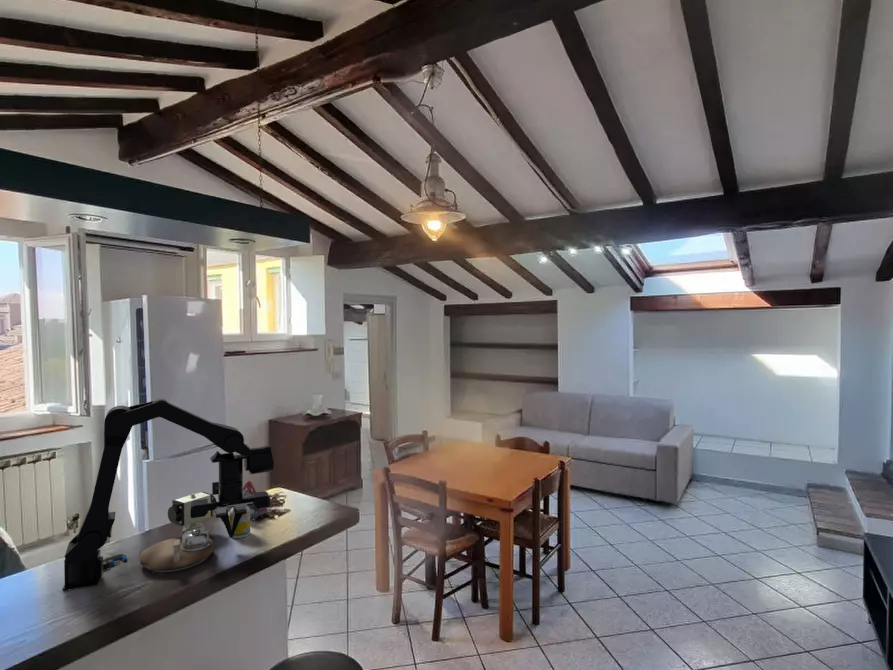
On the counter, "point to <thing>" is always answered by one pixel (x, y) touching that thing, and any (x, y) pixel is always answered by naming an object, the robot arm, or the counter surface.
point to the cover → (195, 540)
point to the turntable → (171, 555)
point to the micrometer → (110, 560)
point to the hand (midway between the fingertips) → (231, 536)
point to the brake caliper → (253, 510)
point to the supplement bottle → (241, 524)
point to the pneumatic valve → (188, 511)
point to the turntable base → (177, 568)
